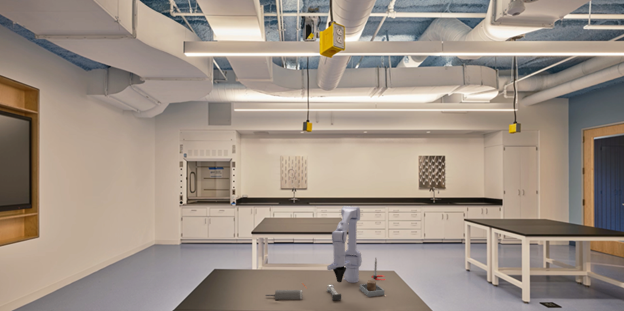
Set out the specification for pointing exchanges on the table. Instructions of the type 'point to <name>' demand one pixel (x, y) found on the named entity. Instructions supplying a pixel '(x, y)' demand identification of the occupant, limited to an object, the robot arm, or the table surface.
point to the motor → (287, 294)
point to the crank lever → (333, 292)
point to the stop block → (371, 285)
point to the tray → (371, 293)
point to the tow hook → (376, 272)
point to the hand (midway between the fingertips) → (339, 281)
